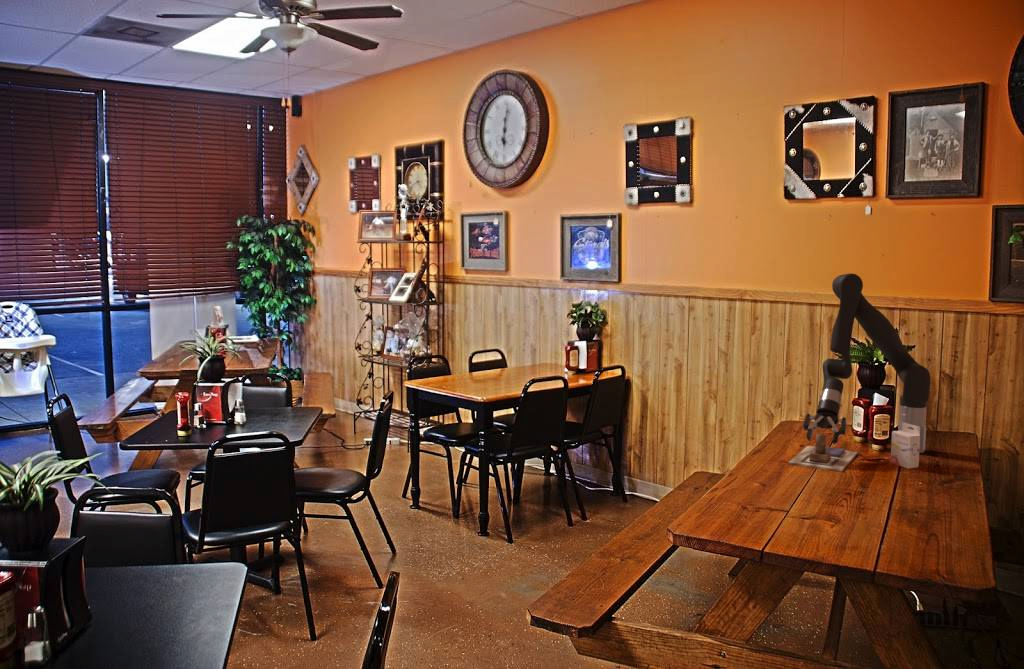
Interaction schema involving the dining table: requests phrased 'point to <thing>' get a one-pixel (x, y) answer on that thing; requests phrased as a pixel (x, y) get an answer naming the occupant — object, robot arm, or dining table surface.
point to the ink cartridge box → (906, 446)
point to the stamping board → (836, 463)
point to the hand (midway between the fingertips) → (821, 441)
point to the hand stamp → (820, 450)
